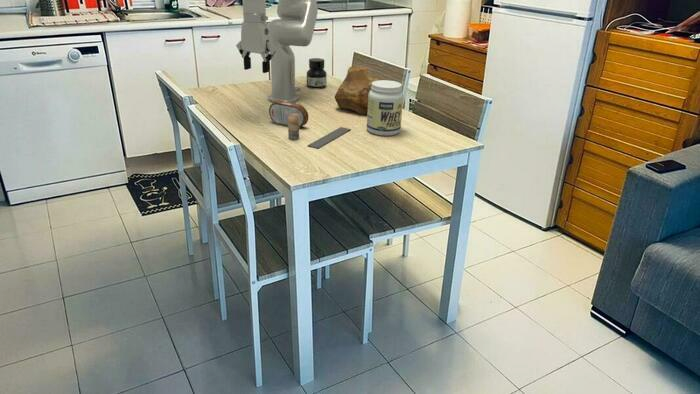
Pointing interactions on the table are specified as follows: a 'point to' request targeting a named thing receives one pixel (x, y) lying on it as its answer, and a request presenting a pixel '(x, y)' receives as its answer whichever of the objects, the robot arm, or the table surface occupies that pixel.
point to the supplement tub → (385, 108)
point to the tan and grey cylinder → (293, 126)
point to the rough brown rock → (355, 90)
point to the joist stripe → (329, 138)
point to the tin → (287, 112)
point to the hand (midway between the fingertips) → (256, 70)
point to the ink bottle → (316, 73)
